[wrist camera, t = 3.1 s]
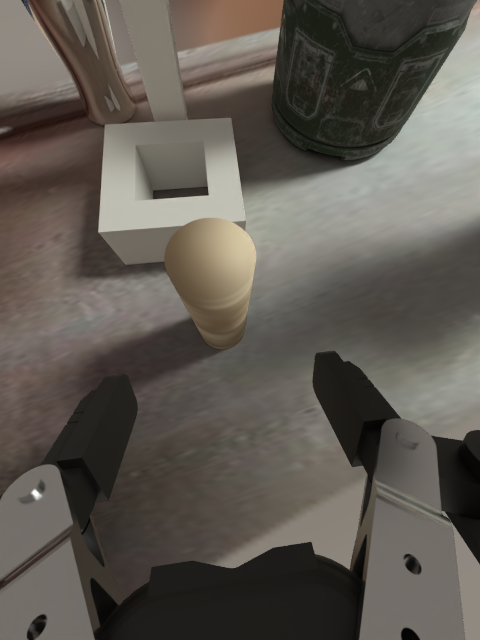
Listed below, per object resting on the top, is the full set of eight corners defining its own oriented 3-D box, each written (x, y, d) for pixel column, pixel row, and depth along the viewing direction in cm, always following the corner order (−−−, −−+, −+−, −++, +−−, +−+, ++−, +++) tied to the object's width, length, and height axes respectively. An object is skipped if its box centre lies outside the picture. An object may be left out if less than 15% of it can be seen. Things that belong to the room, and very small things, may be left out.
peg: (237, 301, 23) (241, 209, 11) (250, 342, 22) (268, 284, 10) (195, 313, 23) (156, 228, 11) (206, 354, 21) (174, 309, 10)
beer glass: (73, 125, 29) (-85, -142, 14) (92, 85, 31) (-31, -183, 16) (132, 132, 29) (30, -128, 14) (146, 92, 31) (70, -172, 16)
